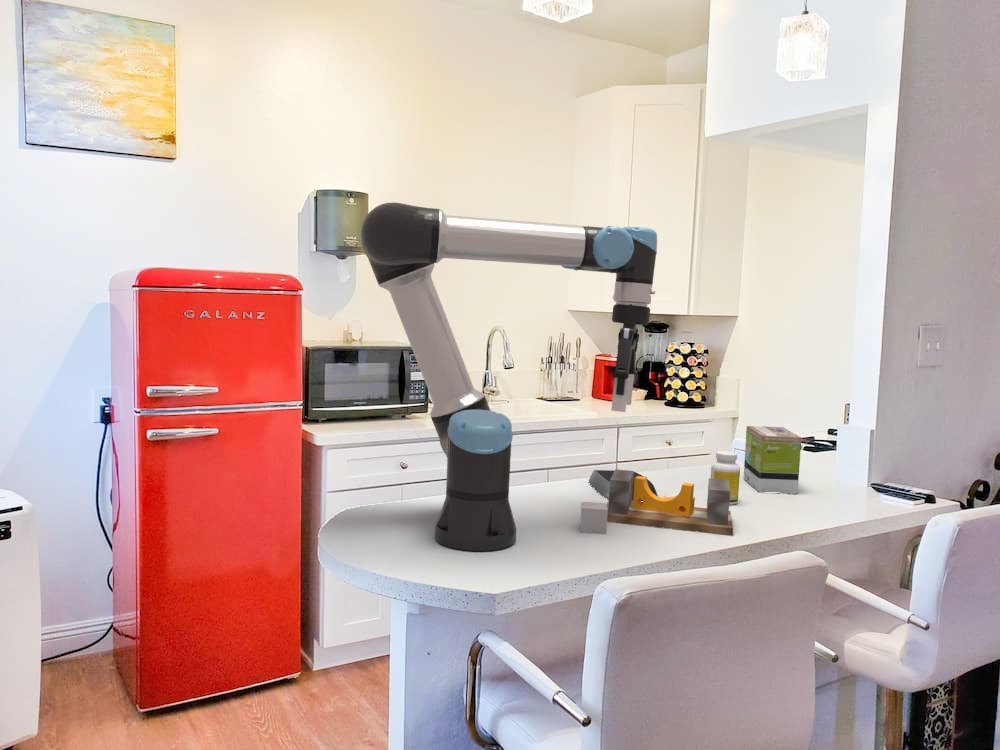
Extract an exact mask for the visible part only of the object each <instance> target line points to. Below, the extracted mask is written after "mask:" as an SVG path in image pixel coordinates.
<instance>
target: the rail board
mask: <svg viewBox="0 0 1000 750" xmlns="http://www.w3.org/2000/svg"><path fill="white" fill-rule="evenodd" d="M634 472H635V470H626V469H614V473H613V475H612V477H611V479H610V490H609V500H608V501H607V502H606V504H607V508H608V515H607V523H616V524H617V523H618V524H623V525H624V524H625V525H633V524H635V525H634V526H642V525H645V526H644V527H651V526H655V527H654V528H660V527H664V528H663V529H669V528H672V529H671V530H678V529H681V531H687V530H690V531H689V532H696V531H698V532H697V533H707V534H715V535H716V534H717V535H723V534H725V536H732V535H733V536H734V525H733V517H732V516H733V515H732V511H731V510H730V505H729V503H730V487H729V481H728V480H722V479H712V478H711V477H709V478H708V484H707V501H706V508H705V507H698V506H697V507H696V506H694V513H693V514H692V515H691V516H690V517H686V516H680V515H674V514H668V513H661V512H655V511H649V510H643V509H637V508H633V501H632V491H633V475H634Z"/></svg>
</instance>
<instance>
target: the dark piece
mask: <svg viewBox="0 0 1000 750" xmlns="http://www.w3.org/2000/svg"><path fill="white" fill-rule="evenodd" d="M614 471H615V469H614V470H610V469H609V470H608V469H607V470H605V469H594V470H593V471H592V473H591V475H590V476H589V479H588V481H589V482H588V484H589V483H590V484H591V485H592V486H593V487H594V488H595V490H597V491H598V492H599V493H600V494H601V495H600V494H599V493H598V492H597V491H596V492H597V493H598V494H599V495H600V496H602V497H603V496H604V497H603V498H604V499H606V498H607V499H606V500H608V501H609V490H610V479H611V477H612V475H613V473H614ZM637 476H642V477H645V476H644V475H642V474H640V473H637V472H636V471H634V475H633V491H632V501H633V496H634V480H635V478H636V477H637ZM647 483H648V486H649V488H650V490H651V491H652V492H653V493H654V494H655V495H656V496H658V497H659V495H658V493H657V490H656V488H655V485H654V484H653V483H652V482H651V481H650V480H649V479H648V478H647ZM590 484H589V485H590ZM591 485H590V486H591ZM592 486H591V487H592ZM640 500H641V501H643V500H642V499H640Z"/></svg>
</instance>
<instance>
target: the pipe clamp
mask: <svg viewBox="0 0 1000 750" xmlns="http://www.w3.org/2000/svg"><path fill="white" fill-rule="evenodd" d="M642 476H643V475H642ZM642 476H637V477H636V478H635V480H634V496H633V508H637V509H643V510H649V511H655V512H661V513H668V514H674V515H680V516H686V517H690V516H691V515H692V514H693V513H694V507H695V500H696V499H695V498H696V497H695V496H694V493H695V492H694V491H695V483H691V482H690V483H689V482H684V483H683V484H681V488H680V491H679V493H678V494H677V495H675V496H670V497H669V496H663V497H660V496H659V495H658V496H656V495H655V494H654V493H653V492H652V491H651V490H650V488H649V486H648V483H647V479H648V477H647V476H644V477H642ZM640 499H642V500H643V502H641V500H640Z"/></svg>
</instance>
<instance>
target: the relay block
mask: <svg viewBox="0 0 1000 750" xmlns="http://www.w3.org/2000/svg"><path fill="white" fill-rule="evenodd" d="M607 515H608V508H607V502H594V501H593V502H592V501H591V502H590V501H581V502H580V516H579V519H580V520H579V530H580V533H581V534H593V535H594V534H596V535H607V529H608V522H607Z"/></svg>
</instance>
